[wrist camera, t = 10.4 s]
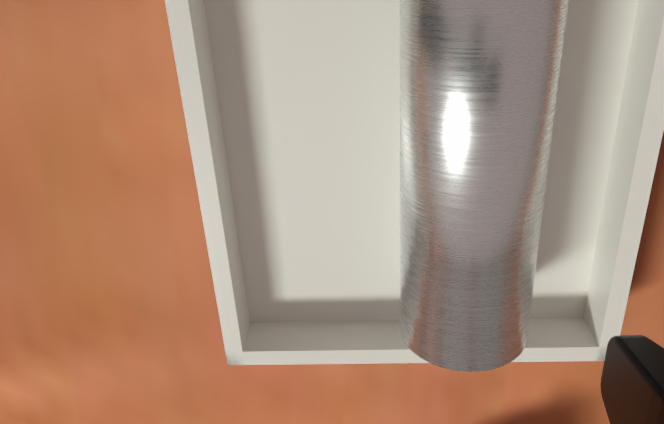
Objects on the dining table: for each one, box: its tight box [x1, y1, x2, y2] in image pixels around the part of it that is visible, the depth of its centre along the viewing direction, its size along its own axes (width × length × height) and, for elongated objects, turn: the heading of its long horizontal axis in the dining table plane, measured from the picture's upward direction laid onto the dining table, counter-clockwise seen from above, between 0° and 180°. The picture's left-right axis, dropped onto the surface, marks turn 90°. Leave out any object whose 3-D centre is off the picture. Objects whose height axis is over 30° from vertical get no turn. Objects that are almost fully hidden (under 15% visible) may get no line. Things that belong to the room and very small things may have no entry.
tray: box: [165, 0, 664, 365], centre depth 17 cm, size 21×13×2 cm, turn 3°
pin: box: [400, 0, 569, 372], centre depth 16 cm, size 16×4×4 cm
